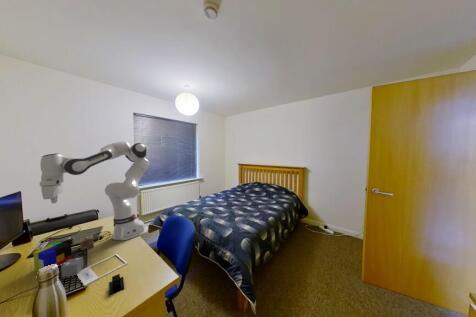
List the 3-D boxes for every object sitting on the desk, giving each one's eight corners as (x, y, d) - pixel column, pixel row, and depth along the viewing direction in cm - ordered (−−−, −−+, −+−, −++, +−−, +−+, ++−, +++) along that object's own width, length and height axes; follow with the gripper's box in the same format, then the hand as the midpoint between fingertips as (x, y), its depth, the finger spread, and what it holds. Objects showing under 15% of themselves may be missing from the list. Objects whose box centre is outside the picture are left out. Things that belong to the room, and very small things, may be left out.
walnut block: (93, 243, 111) (92, 234, 111) (93, 247, 107) (93, 237, 107) (80, 247, 107) (80, 237, 107) (81, 251, 103) (80, 241, 102)
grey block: (83, 267, 88) (83, 256, 88) (77, 275, 83) (76, 263, 82) (69, 270, 86) (68, 258, 86) (62, 278, 81) (61, 266, 80)
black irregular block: (107, 282, 79) (106, 273, 79) (125, 274, 84) (124, 266, 83) (106, 300, 69) (106, 290, 69) (127, 291, 74) (127, 281, 74)
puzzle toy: (48, 273, 84) (47, 254, 84) (34, 270, 86) (33, 252, 86) (72, 260, 94) (70, 243, 94) (58, 258, 96) (57, 241, 96)
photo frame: (75, 272, 84) (116, 253, 99) (75, 274, 84) (116, 255, 99) (84, 285, 76) (127, 262, 91) (84, 287, 76) (127, 264, 91)
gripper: (51, 178, 106) (52, 199, 107) (38, 183, 89) (40, 208, 90) (65, 177, 110) (66, 197, 111) (54, 182, 93) (56, 206, 94)
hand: (54, 202), depth 100 cm, fingers closed
